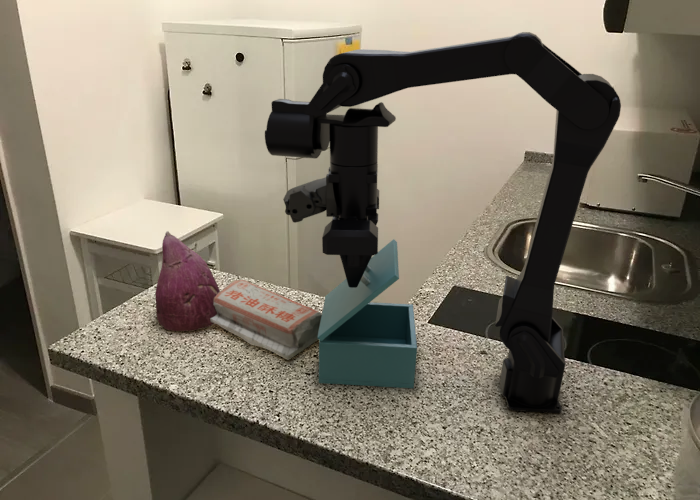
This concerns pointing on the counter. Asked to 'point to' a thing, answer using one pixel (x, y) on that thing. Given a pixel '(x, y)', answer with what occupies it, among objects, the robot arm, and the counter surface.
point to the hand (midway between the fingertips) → (354, 277)
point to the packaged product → (266, 318)
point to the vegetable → (184, 288)
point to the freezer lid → (359, 290)
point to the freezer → (372, 348)
